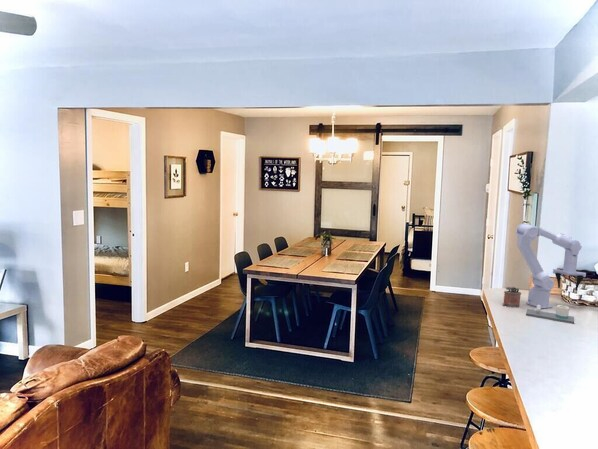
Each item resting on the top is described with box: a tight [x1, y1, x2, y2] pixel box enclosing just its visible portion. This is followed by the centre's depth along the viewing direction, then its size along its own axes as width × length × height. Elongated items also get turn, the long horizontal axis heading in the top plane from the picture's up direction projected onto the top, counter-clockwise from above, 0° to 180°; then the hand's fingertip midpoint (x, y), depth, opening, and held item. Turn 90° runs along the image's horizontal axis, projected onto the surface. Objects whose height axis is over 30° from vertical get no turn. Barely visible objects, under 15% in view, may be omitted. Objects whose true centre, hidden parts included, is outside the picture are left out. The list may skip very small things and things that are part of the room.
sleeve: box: [555, 304, 570, 319], centre depth 219 cm, size 5×5×5 cm
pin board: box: [525, 305, 575, 324], centre depth 222 cm, size 20×9×5 cm, turn 60°
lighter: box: [502, 286, 522, 308], centre depth 237 cm, size 8×3×10 cm, turn 84°
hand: (567, 288), depth 240 cm, fingers open, 7 cm apart
